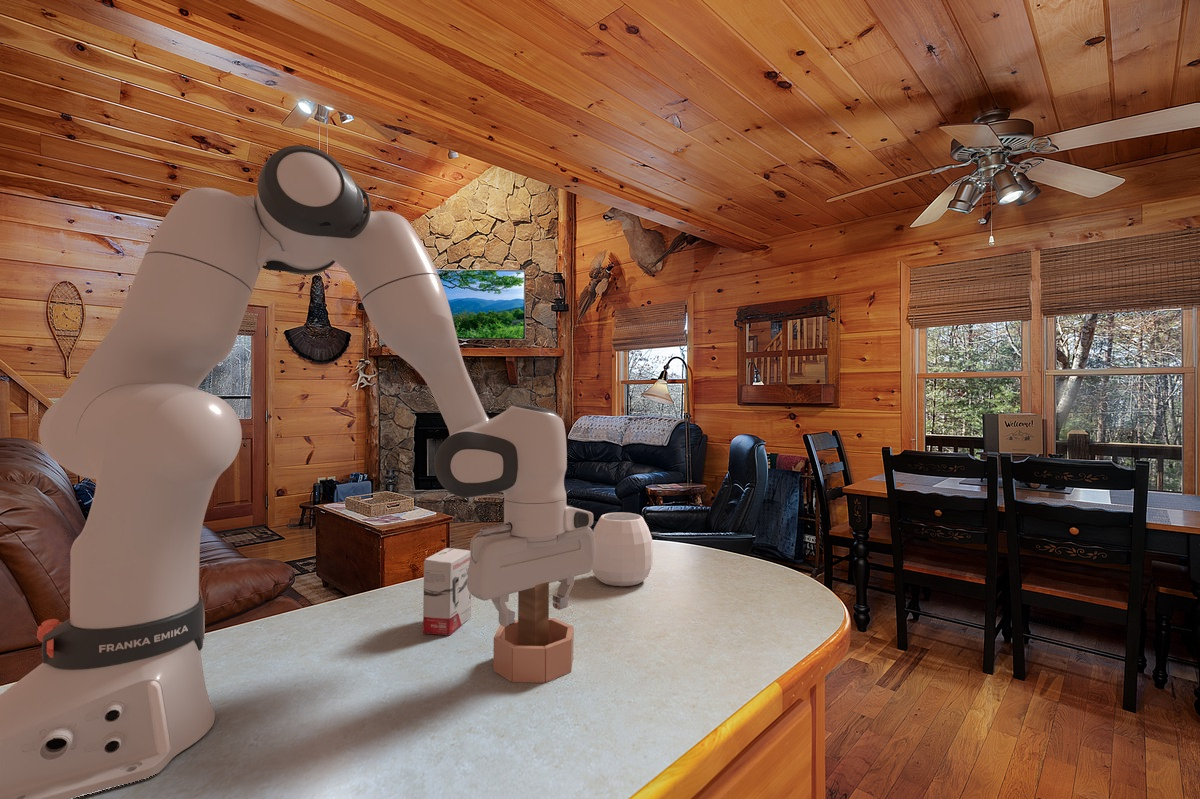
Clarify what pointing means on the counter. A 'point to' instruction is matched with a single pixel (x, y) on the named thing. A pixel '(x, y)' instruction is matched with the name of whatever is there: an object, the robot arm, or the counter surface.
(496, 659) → the octagonal terracotta tray
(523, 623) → the tall wooden block
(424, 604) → the ink box
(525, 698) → the counter surface
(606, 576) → the cup
